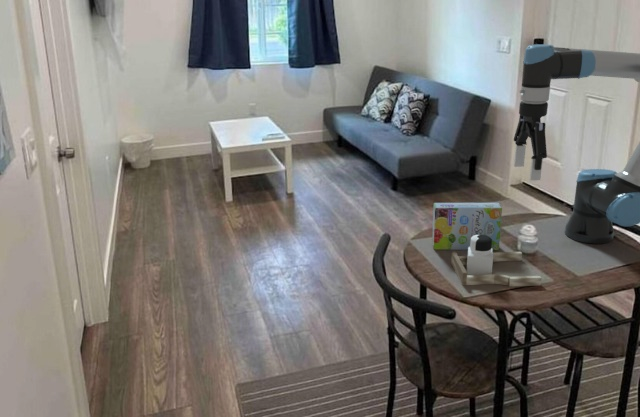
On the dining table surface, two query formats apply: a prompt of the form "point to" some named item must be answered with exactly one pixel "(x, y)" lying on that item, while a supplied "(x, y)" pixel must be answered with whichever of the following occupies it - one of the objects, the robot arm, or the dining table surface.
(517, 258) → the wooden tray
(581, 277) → the dining table surface
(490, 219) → the snack box
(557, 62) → the robot arm
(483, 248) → the medicine bottle
